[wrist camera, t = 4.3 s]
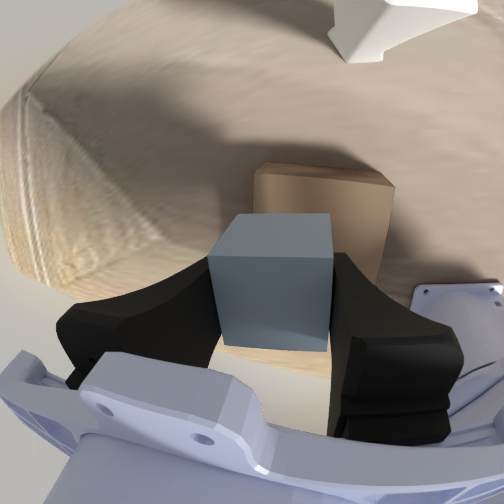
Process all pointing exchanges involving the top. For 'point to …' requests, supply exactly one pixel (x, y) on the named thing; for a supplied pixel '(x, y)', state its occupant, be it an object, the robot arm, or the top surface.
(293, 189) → the walnut block
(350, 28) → the perfume bottle
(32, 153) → the top surface
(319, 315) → the slate-blue cube
